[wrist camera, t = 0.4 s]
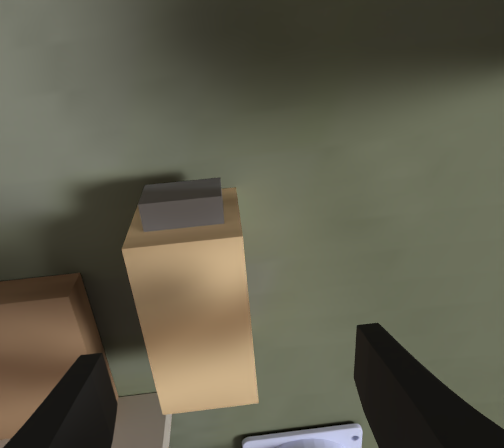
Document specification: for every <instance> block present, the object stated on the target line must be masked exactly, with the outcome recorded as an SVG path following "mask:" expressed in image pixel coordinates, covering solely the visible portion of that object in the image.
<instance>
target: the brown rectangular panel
mask: <svg viewBox="0 0 504 448" xmlns="http://www.w3.org/2000/svg"><path fill="white" fill-rule="evenodd" d="M95 353H103V356H104V359H105V363H106V366H107V370H108V373H109V376H110V380H111V383H112V387H113V390H114V393H115V397H116V400H117V402H118V398H119V397H118V393H117V390H116V387H115V384H114V381H113V377H112V374H111V371H110V368H109V364H108V361H107V358H106V355H105V352H104V348H103V345H102V342H101V339H100V335H99V332H98V329H97V326H96V323H95V319H94V316H93V313H92V310H91V306H90V303H89V300H88V297H87V294H86V290H85V287H84V284H83V281H82V277H81V274H80V273H74V274H65V275H55V276H46V277H37V278H28V279H18V280H9V281H0V440H4V439H11V438H12V437H13V436H14V435H15V434H16V433H17V431H18V430H19V429H20V428H21V427H22V426H23V425H24V424H25V422H26V421H27V420H28V419H29V418H30V416H31V415H32V414H33V413H34V412H35V410H36V409H37V408H38V407H39V406H40V404H41V403H42V402H43V401H44V400H45V398H46V397H47V396H48V395H49V393H50V392H51V391H52V390H53V388H54V387H55V386H56V385H57V383H58V382H59V381H60V380H61V378H62V377H63V376H64V375H65V373H66V372H67V371H68V370H69V368H70V367H71V366H72V365H73V363H74V362H75V361H76V360H77V358H78V357H79V356H80V355H85V354H95Z"/></svg>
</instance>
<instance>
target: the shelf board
mask: <svg viewBox="0 0 504 448" xmlns="http://www.w3.org/2000/svg"><path fill="white" fill-rule="evenodd" d="M117 403H118V406H117V414H116V422H115V429H114V436H113V442H112V446H111V448H169V441H170V430H171V419H172V414H167V415H163V414H162V410H161V406H160V402H159V398H158V394H157V393H149V394H141V395H132V396H124V397H119V398H118V402H117ZM9 440H10V439H4V440H0V448H3V447H4V446H5V445H6V444H7V442H8V441H9Z"/></svg>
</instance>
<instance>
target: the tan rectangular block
mask: <svg viewBox="0 0 504 448" xmlns="http://www.w3.org/2000/svg"><path fill="white" fill-rule="evenodd" d="M122 253H123V257H124V261H125V265H126V269H127V273H128V277H129V281H130V285H131V289H132V293H133V297H134V301H135V305H136V309H137V313H138V317H139V321H140V325H141V329H142V333H143V337H144V341H145V346H146V350H147V354H148V358H149V362H150V366H151V370H152V374H153V378H154V382H155V386H156V390H157V394H158V398H159V402H160V406H161V410H162V414H163V415H167V414H175V413H183V412H191V411H199V410H207V409H215V408H223V407H232V406H240V405H248V404H256V403H259V402H258V391H257V381H256V370H255V360H254V349H253V339H252V329H251V318H250V308H249V297H248V287H247V276H246V266H245V255H244V245H243V235H242V228H241V221H240V214H239V206H238V199H237V192H236V187H235V188H225V189H221V180H220V178H210V179H200V180H191V181H181V182H171V183H161V184H151V185H145V186H144V189H143V192H142V194H141V197H140V200H139V203H138V205H137V208H136V211H135V214H134V216H133V219H132V222H131V225H130V227H129V230H128V233H127V236H126V239H125V241H124V244H123V247H122Z"/></svg>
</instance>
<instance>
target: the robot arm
mask: <svg viewBox="0 0 504 448" xmlns="http://www.w3.org/2000/svg"><path fill="white" fill-rule="evenodd" d="M354 380H355V383H356V387H357V390H358V394H359V397H360V401H361V404H362V407H363V410H364V413H365V416H366V418H367V421H368V423H369V425H370V428H371V430H372V432H373V435H374V437H375V440H376V442H377V444H378V447H379V448H504V429H502V428H501V427H500V426H498V425H497V424H495V423H494V422H493V421H491V420H490V419H488V418H487V417H485V416H484V415H483V414H481V413H480V412H478V411H477V410H476V409H474V408H473V407H472V406H470V405H469V404H468V403H467V402H465V401H464V400H463V399H462V398H460V397H459V396H458V395H457V394H455V393H454V392H453V391H452V390H450V389H449V388H448V387H447V386H446V385H444V384H443V383H442V382H441V381H440V380H439V379H437V378H436V377H435V376H434V375H433V374H432V373H431V372H430V371H428V370H427V369H426V368H425V367H424V366H423V365H422V364H421V363H419V362H418V361H417V360H416V359H415V358H414V357H413V356H412V355H411V354H410V353H409V352H408V351H407V350H406V349H405V348H404V347H402V346H401V345H400V344H399V343H398V342H397V341H396V340H395V339H394V338H393V337H392V336H391V335H390V334H389V333H388V332H387V331H386V330H385V329H384V328H383V327H382V326H381V325H380V324H379V323H373V324H363V325H357V332H356V349H355V366H354ZM117 406H118V403H117V400H116V397H115V393H114V390H113V387H112V383H111V380H110V376H109V373H108V370H107V366H106V363H105V359H104V356H103V353H95V354H85V355H80V356H79V357H78V358H77V360H76V361H75V362H74V363H73V365H72V366H71V367H70V368H69V370H68V371H67V372H66V373H65V375H64V376H63V377H62V378H61V380H60V381H59V382H58V383H57V385H56V386H55V387H54V388H53V390H52V391H51V392H50V393H49V395H48V396H47V397H46V398H45V400H44V401H43V402H42V403H41V404H40V406H39V407H38V408H37V409H36V410H35V412H34V413H33V414H32V415H31V416H30V418H29V419H28V420H27V421H26V422H25V424H24V425H23V426H22V427H21V428H20V429H19V430H18V431H17V433H16V434H15V435H14V436H13V437H12V438H11V439H10V440H9V441H8V442H7V444H6V445H5V446H4V447H3V448H111V446H112V442H113V436H114V429H115V422H116V414H117ZM361 446H362V428H361V426H360V425H359V424H346V425H338V426H330V427H322V428H314V429H306V430H298V431H290V432H282V433H275V434H267V435H259V436H251V437H246V438H245V439H243V441H242V448H361Z"/></svg>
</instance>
